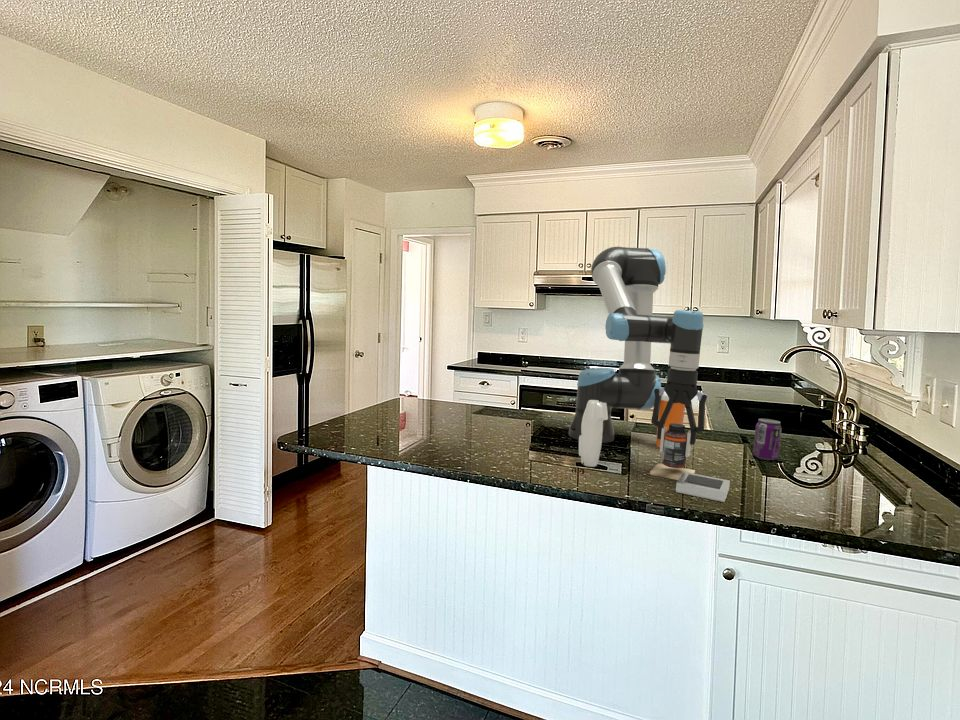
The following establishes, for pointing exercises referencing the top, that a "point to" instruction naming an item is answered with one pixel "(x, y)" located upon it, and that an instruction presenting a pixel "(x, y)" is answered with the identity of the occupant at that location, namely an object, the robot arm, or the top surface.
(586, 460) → the white bottle
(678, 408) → the shaker bottle
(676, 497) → the top surface
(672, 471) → the maple coaster
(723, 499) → the grey tray
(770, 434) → the beverage can
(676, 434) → the supplement bottle
